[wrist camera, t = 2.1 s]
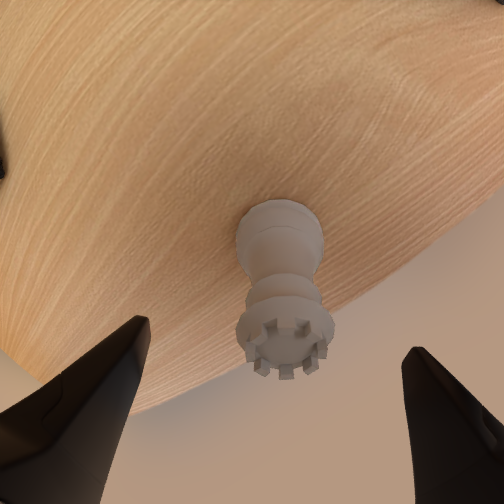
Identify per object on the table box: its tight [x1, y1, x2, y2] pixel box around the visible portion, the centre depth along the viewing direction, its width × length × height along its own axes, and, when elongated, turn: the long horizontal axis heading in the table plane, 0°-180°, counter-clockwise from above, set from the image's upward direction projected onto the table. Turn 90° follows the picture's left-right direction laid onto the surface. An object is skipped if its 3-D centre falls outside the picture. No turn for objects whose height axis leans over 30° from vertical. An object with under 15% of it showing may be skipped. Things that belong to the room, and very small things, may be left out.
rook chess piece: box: [235, 199, 335, 380], centre depth 12 cm, size 4×4×8 cm
